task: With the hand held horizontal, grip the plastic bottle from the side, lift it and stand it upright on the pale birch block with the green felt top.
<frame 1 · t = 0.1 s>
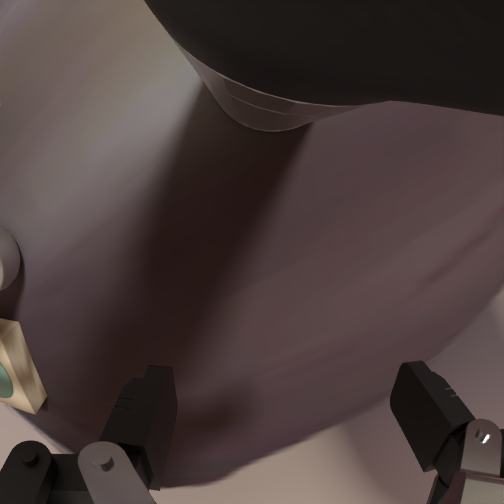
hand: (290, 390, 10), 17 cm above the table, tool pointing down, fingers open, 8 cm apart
base block: (2, 353, 31), on the table
plastic bottle: (7, 249, 26), on the table
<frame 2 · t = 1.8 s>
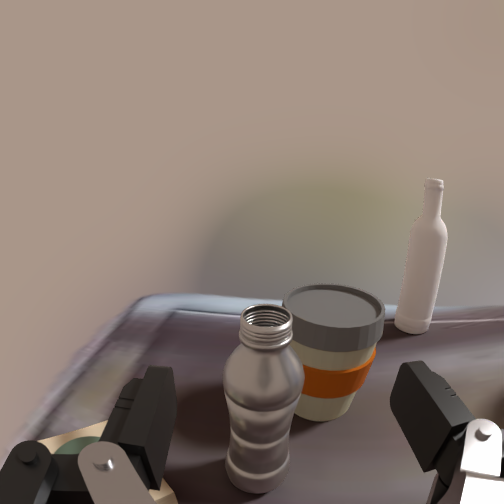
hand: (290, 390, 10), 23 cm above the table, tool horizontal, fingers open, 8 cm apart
base block: (102, 489, 22), on the table
plastic bottle: (256, 476, 27), on the table
reusable coffee cup: (318, 400, 40), on the table
bottle: (410, 326, 59), on the table
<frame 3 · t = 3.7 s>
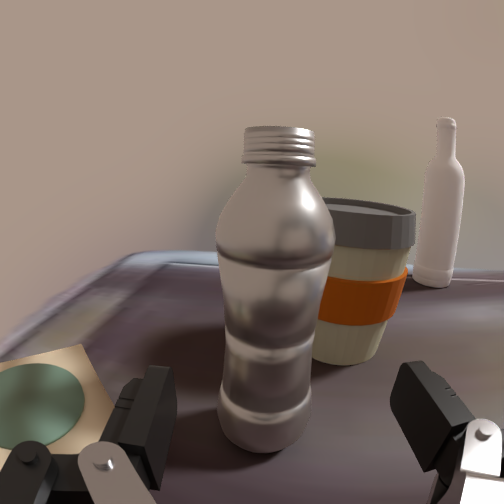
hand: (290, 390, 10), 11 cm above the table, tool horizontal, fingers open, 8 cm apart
base block: (45, 441, 16), on the table
plastic bottle: (262, 432, 21), on the table
reusable coffee cup: (337, 343, 33), on the table
bottle: (430, 281, 52), on the table
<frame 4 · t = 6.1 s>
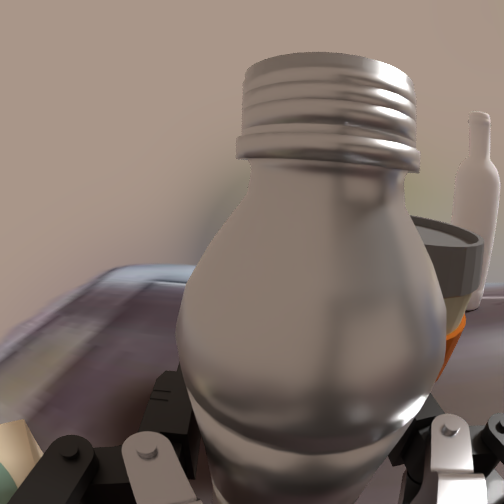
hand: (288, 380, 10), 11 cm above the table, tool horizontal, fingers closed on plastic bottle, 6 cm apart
reusable coffee cup: (364, 401, 24), on the table
bottle: (458, 302, 43), on the table
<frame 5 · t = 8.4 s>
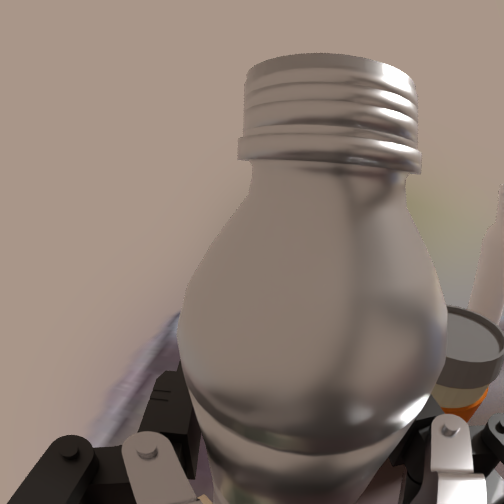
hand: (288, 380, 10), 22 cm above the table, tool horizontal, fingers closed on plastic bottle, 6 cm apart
reusable coffee cup: (415, 433, 30), on the table
bottle: (475, 339, 49), on the table
when the fingers open (16 cm above the table, at t = 10.8 s): plastic bottle stays where it is, resting on base block.
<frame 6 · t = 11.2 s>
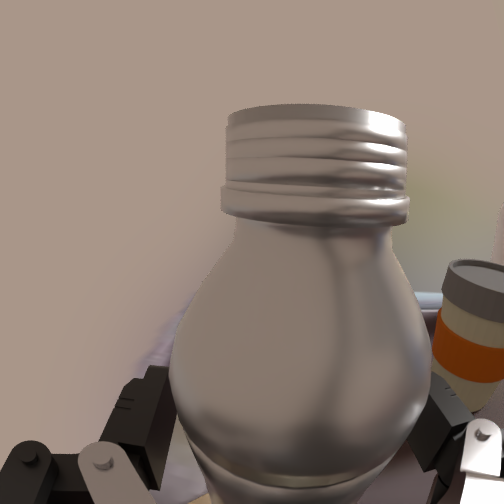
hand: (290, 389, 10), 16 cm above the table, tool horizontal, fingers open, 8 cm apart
reusable coffee cup: (458, 391, 30), on the table
bottle: (494, 313, 49), on the table
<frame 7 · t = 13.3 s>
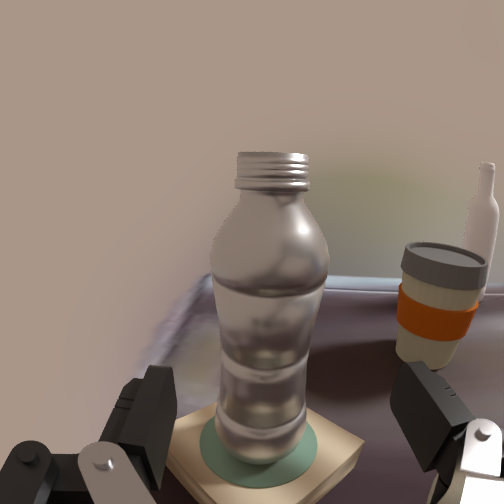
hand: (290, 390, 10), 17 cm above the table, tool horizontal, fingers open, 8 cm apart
base block: (256, 469, 22), on the table
plastic bottle: (259, 443, 21), point 4 cm above the table, touching base block
reusable coffee cup: (422, 353, 39), on the table
bottle: (467, 297, 59), on the table
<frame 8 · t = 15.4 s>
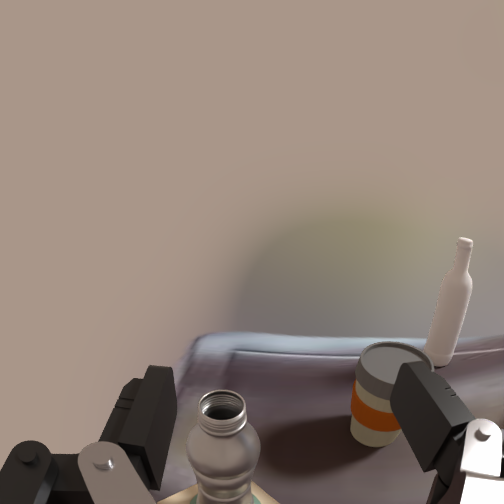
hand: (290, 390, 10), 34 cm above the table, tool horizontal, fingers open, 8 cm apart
reusable coffee cup: (374, 429, 46), on the table
bottle: (435, 359, 65), on the table
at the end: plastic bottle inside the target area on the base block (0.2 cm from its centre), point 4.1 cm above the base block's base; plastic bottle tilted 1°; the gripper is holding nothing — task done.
